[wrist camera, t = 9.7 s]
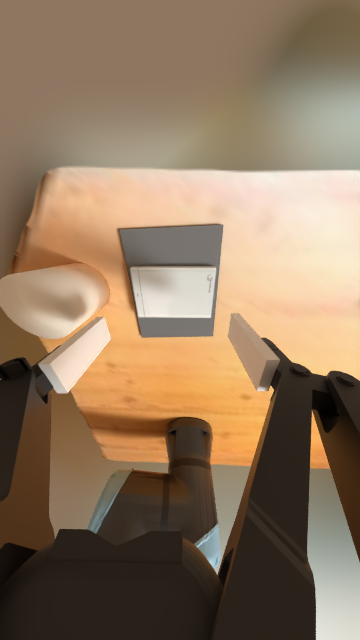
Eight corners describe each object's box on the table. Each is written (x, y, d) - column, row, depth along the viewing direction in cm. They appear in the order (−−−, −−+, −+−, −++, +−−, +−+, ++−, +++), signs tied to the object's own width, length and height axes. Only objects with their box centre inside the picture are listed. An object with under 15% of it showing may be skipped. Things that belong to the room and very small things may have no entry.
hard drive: (217, 267, 19) (129, 267, 20) (211, 318, 23) (137, 318, 24) (214, 265, 21) (132, 266, 21) (209, 314, 25) (140, 314, 25)
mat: (212, 334, 28) (212, 336, 27) (142, 335, 28) (141, 337, 27) (222, 225, 19) (223, 224, 18) (121, 229, 19) (119, 229, 19)
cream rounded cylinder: (115, 308, 25) (84, 338, 17) (73, 310, 26) (23, 339, 18) (102, 261, 22) (54, 272, 14) (52, 263, 22) (-23, 274, 14)
